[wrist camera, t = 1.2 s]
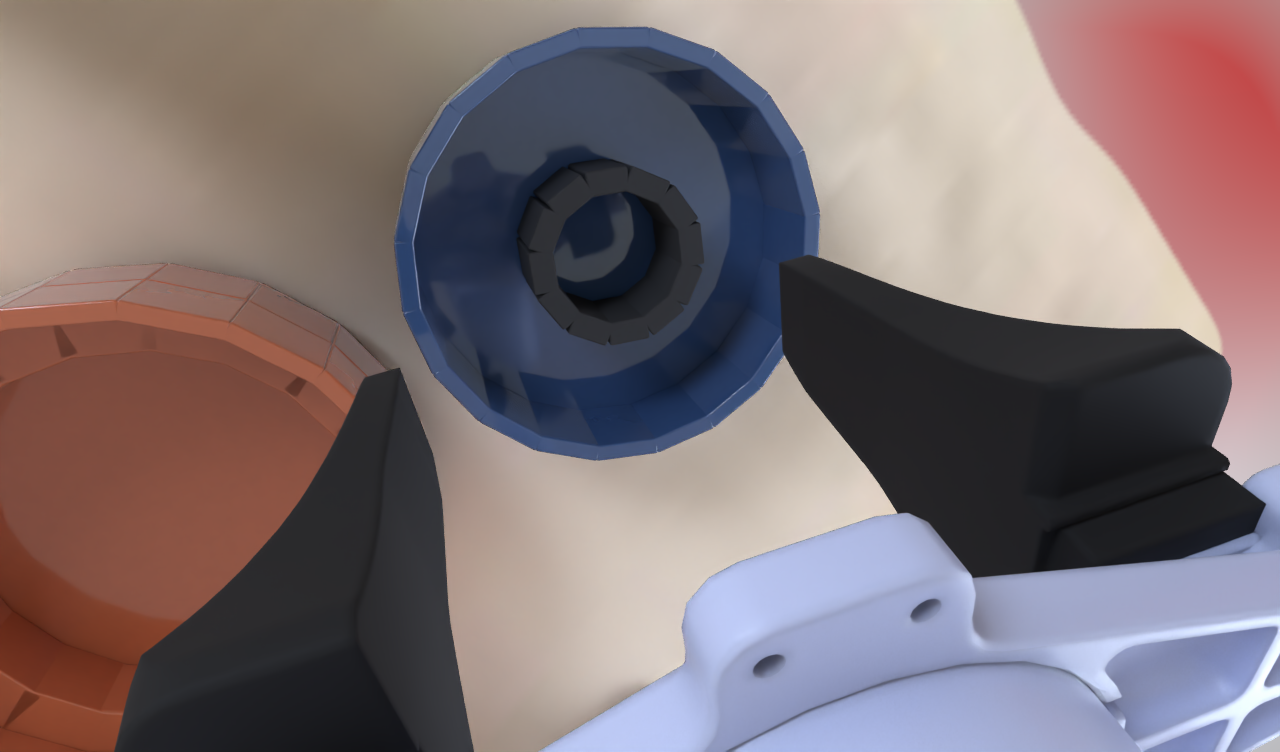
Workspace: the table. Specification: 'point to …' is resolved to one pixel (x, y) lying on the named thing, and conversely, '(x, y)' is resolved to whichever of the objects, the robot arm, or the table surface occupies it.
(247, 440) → the bowl
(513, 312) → the blue round dish
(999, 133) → the table surface
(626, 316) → the ring
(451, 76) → the table surface
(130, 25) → the table surface
